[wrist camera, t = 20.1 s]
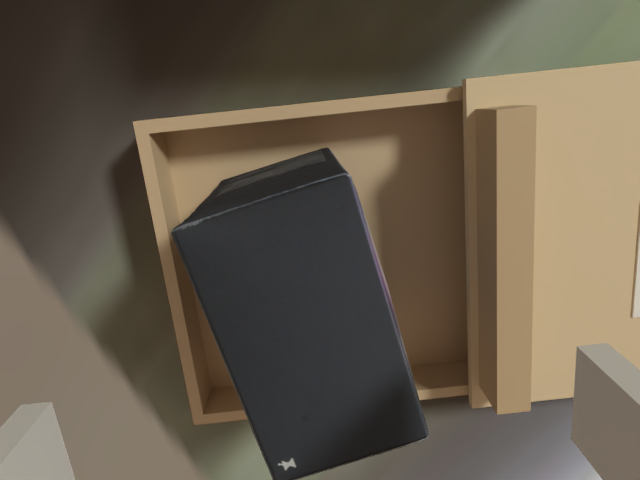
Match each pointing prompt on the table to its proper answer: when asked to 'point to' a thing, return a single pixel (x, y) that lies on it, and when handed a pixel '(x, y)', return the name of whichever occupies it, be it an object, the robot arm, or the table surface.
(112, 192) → the table surface
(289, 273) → the small box
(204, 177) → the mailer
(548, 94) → the lid
